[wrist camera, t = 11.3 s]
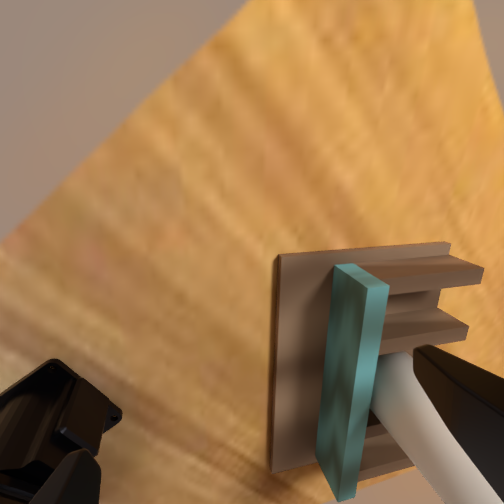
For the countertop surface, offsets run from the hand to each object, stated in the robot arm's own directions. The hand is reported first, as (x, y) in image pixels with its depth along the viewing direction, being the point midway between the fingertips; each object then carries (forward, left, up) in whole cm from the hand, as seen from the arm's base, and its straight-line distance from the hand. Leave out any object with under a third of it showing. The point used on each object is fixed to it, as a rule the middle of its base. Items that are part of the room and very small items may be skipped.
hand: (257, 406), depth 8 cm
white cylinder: (+6, -16, -12) cm, 21 cm away
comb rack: (+5, -15, -13) cm, 20 cm away
